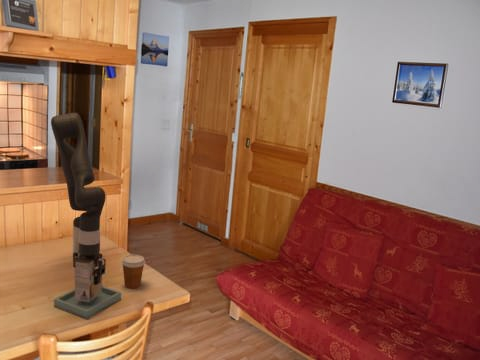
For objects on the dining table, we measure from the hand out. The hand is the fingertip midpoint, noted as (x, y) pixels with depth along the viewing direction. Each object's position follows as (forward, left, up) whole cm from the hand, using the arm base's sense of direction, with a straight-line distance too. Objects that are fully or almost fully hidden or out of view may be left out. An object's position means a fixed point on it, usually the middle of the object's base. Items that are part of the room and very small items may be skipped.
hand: (88, 281), depth 166 cm
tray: (0, 0, -9) cm, 9 cm away
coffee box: (0, 0, -6) cm, 6 cm away
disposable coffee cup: (-21, +4, -9) cm, 23 cm away
